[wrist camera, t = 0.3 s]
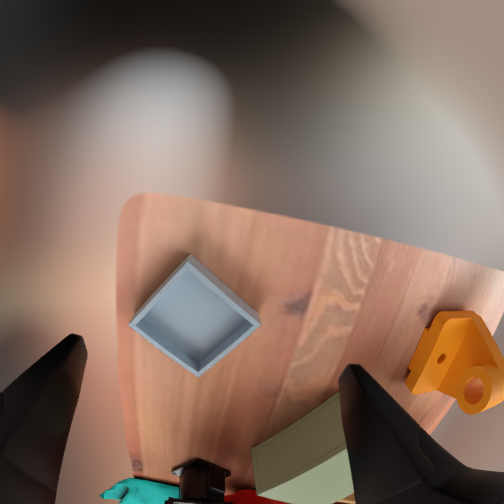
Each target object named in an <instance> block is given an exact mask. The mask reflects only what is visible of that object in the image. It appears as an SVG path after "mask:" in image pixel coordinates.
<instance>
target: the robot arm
mask: <svg viewBox="0 0 504 504" xmlns="http://www.w3.org/2000/svg"><path fill="white" fill-rule="evenodd" d="M86 361H87V349H86V346H85V343H84V340H83V337H82V336H80V335H77V334H70V335H68V336H67V337H66V338H64V339H63V340H62V341H61V342H60V343H58V344H57V345H56V346H55V347H53V348H52V349H51V350H50V351H49V352H47V353H46V354H45V355H44V356H42V357H41V358H40V359H39V360H38V361H37V362H35V363H34V364H33V365H32V366H31V367H29V369H27V370H26V371H25V372H24V373H22V374H21V375H20V376H19V377H18V378H17V379H15V380H14V381H13V382H12V383H11V384H10V385H9V386H8V387H6V388H5V389H4V390H3V392H1V393H0V504H55V499H56V491H57V485H58V480H59V475H60V469H61V465H62V460H63V455H64V451H65V447H66V443H67V438H68V435H69V431H70V427H71V423H72V419H73V416H74V413H75V409H76V406H77V402H78V399H79V395H80V390H81V385H82V380H83V375H84V370H85V365H86ZM338 385H339V396H340V408H341V419H342V425H343V430H344V436H345V441H346V447H347V452H348V458H349V464H350V470H351V476H352V482H353V489H354V496H355V503H356V504H504V472H494V471H485V470H478V469H472V468H469V467H467V466H465V465H464V464H462V463H461V462H460V461H458V460H457V459H456V458H455V457H454V456H452V455H451V454H450V453H448V452H447V451H446V450H445V449H444V448H443V447H441V446H440V445H439V444H438V443H437V442H435V440H434V439H433V438H432V437H431V436H430V435H429V434H428V433H427V432H426V431H425V430H424V429H423V428H420V425H419V424H418V423H417V422H416V421H415V420H414V419H413V418H412V417H411V416H410V415H409V414H408V413H407V412H406V411H405V410H404V409H403V408H402V407H401V406H400V405H399V404H398V403H397V402H396V401H395V400H394V399H393V398H392V397H391V396H390V395H389V394H388V393H387V392H386V391H385V390H384V389H383V387H382V386H381V385H380V384H379V383H378V382H377V381H376V380H375V379H374V378H373V377H372V376H371V375H370V374H369V373H368V372H367V371H366V370H365V369H364V368H363V367H362V366H361V365H360V364H348V365H347V366H346V368H345V369H344V371H343V372H342V374H341V375H340V377H339V381H338ZM171 473H172V474H173V475H176V476H178V477H180V482H179V496H178V498H173V497H169V499H168V500H165V503H164V504H233V501H229V502H225V501H224V493H225V478H226V477H229V476H231V472H230V471H227V470H225V469H222V468H220V467H217V466H215V465H212V464H210V463H208V462H205V461H203V460H201V459H194V460H192V461H190V462H188V463H186V464H184V465H182V466H180V467H178V468H176V469H174V470H172V472H171Z"/></svg>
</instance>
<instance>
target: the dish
mask: <svg viewBox="0 0 504 504" xmlns="http://www.w3.org/2000/svg"><path fill="white" fill-rule="evenodd" d="M129 326H130V327H131V328H133V329H134V330H135V331H136V332H137V333H139V334H140V335H141V336H142V337H144V338H145V339H146V340H148V341H149V342H150V343H151V344H153V345H154V346H155V347H157V348H158V349H159V350H161V351H162V352H163V353H165V354H166V355H167V356H169V357H170V358H171V359H173V360H174V361H176V362H177V363H178V364H180V365H181V366H183V367H184V368H185V369H187V370H188V371H190V372H191V373H193V374H194V375H196V376H197V377H200V376H201V375H202V374H203V373H205V372H206V371H207V370H208V369H210V368H211V367H212V366H213V365H215V364H216V363H217V362H218V361H219V360H221V359H222V358H223V357H224V356H226V355H227V354H228V353H229V352H230V351H232V350H233V349H234V348H235V347H236V346H238V345H239V344H240V343H241V342H242V341H243V340H245V339H246V338H247V337H248V336H249V335H250V334H252V333H253V332H254V331H255V330H256V329H257V328H259V327H260V326H261V321H260V317H259V313H257V312H256V311H255V310H254V309H253V308H252V307H250V306H249V305H248V304H247V303H246V302H245V301H244V300H242V299H241V298H240V297H239V296H238V295H237V294H235V293H234V292H233V291H232V290H231V289H230V288H229V287H227V286H226V285H225V284H224V283H223V282H222V281H221V280H220V279H218V278H217V277H216V276H215V275H214V274H213V273H212V272H211V271H209V270H208V269H207V268H206V267H205V266H204V265H203V264H202V263H201V262H199V261H198V260H197V259H196V258H195V257H194V256H193V255H192V254H189V255H188V256H187V258H186V259H185V260H184V261H183V262H182V263H181V264H180V265H179V266H178V267H177V268H176V269H175V270H174V271H173V272H172V273H171V274H170V275H169V277H168V278H167V279H166V280H165V281H164V282H163V283H162V284H161V285H160V286H159V287H158V288H157V289H156V291H155V292H154V293H153V294H152V295H151V296H150V297H149V298H148V299H147V300H146V301H145V303H144V304H143V305H142V306H141V307H140V308H139V309H138V310H137V311H136V313H135V314H134V315H133V317H132V319H131V321H130V323H129Z"/></svg>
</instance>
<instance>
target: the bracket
mask: <svg viewBox="0 0 504 504" xmlns="http://www.w3.org/2000/svg"><path fill="white" fill-rule="evenodd" d="M408 368H409V369H410V370H411V372H410V374H409V376H408V378H407V380H406V382H405V384H406V386H407V387H408V388H409V390H410V391H411V392H412V394H413V395H416V394H421V393H426V392H430V391H435V390H438V391H440V392H442V393H445V394H447V395H449V396H451V397H454V398H456V399H457V402H458V404H459V406H460V408H461V409H462V410H463V411H464V412H465V413H467V414H471V415H473V414H477V413H480V412H482V411H484V410H486V409H488V408H490V407H493V406H495V405H497V404H499V403H500V402H502V401H503V400H504V358H503V356H502V354H501V352H500V350H499V348H498V346H497V344H496V342H495V341H494V339H493V337H492V335H491V333H490V331H489V330H488V328H487V326H486V324H485V323H484V321H483V319H482V318H481V317H480V316H479V315H477V314H476V313H475V312H473V311H441V312H439V313H438V314H437V315H436V316H435V318H434V320H433V322H432V325H431V327H430V328H425V329H424V332H423V334H422V337H421V339H420V341H419V344H418V346H417V348H416V351H415V353H414V355H413V357H412V359H411V362H410V364H409V366H408Z"/></svg>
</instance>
